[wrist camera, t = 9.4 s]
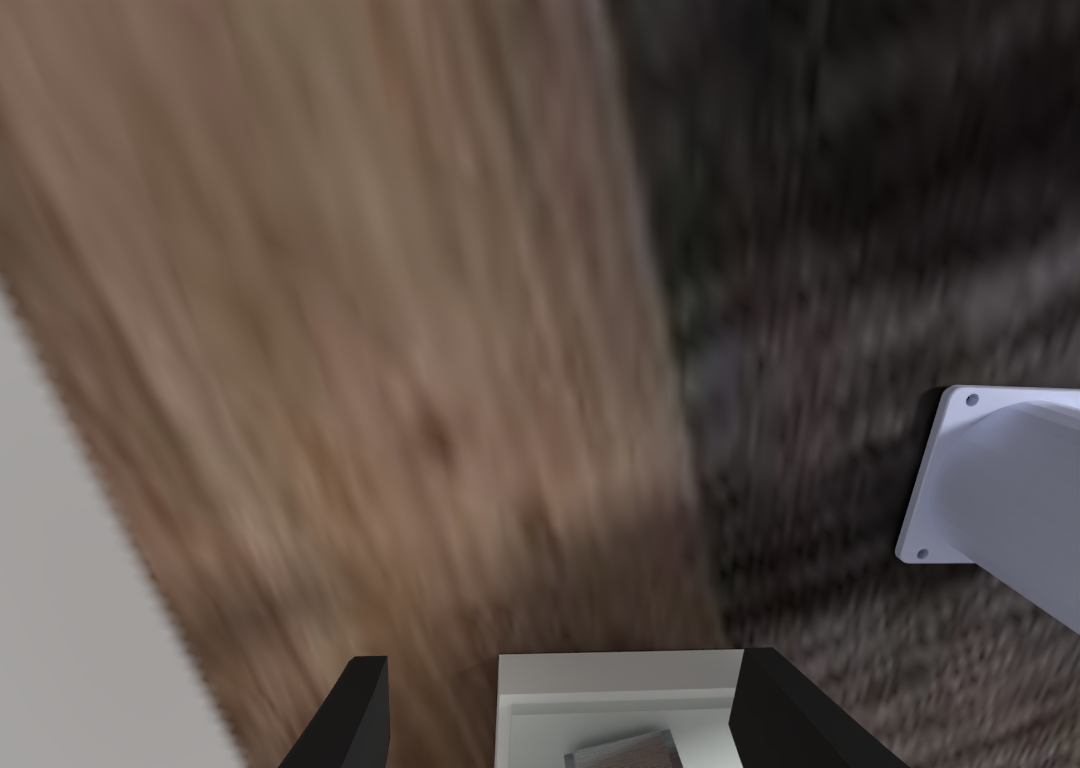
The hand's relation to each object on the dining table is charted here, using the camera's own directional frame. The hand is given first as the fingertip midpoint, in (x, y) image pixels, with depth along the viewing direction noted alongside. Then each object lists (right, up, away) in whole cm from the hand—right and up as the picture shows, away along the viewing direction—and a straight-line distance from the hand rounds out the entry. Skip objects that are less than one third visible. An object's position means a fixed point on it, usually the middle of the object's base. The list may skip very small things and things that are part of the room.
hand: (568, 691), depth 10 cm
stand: (+3, -12, +14) cm, 19 cm away
